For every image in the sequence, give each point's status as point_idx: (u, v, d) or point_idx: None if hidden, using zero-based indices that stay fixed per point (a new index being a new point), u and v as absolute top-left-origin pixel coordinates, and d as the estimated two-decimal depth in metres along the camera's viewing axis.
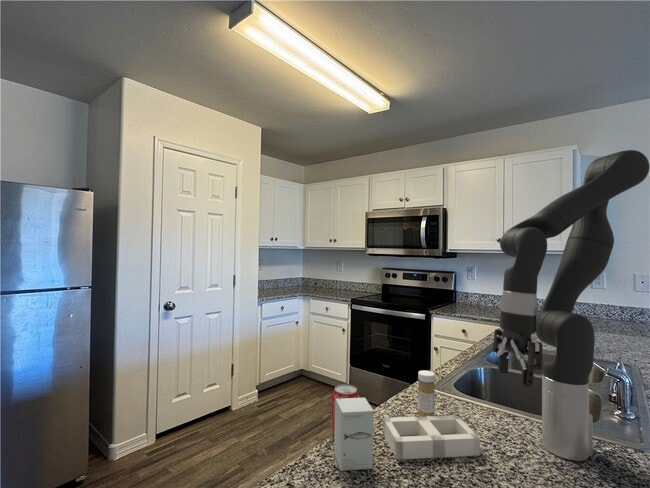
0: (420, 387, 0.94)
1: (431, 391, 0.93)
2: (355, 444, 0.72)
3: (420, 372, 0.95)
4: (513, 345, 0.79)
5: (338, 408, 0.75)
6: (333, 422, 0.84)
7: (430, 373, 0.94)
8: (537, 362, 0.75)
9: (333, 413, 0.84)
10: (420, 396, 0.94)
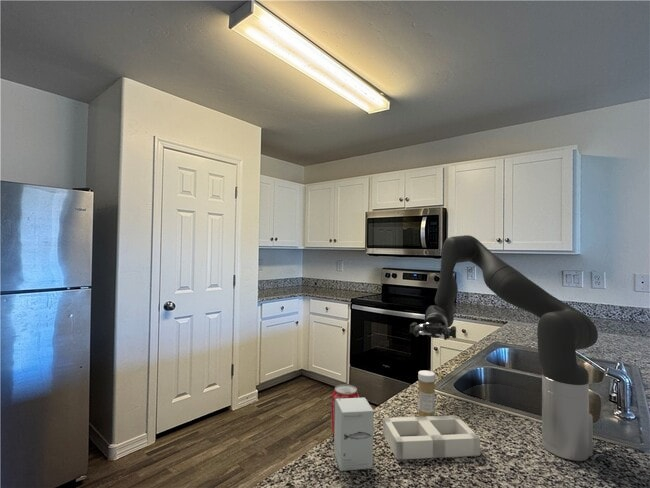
0: (420, 387, 0.94)
1: (432, 391, 0.93)
2: (355, 444, 0.72)
3: (420, 372, 0.95)
4: (427, 334, 1.13)
5: (338, 408, 0.75)
6: (333, 422, 0.84)
7: (430, 373, 0.94)
8: None
9: (333, 413, 0.84)
10: (420, 396, 0.94)
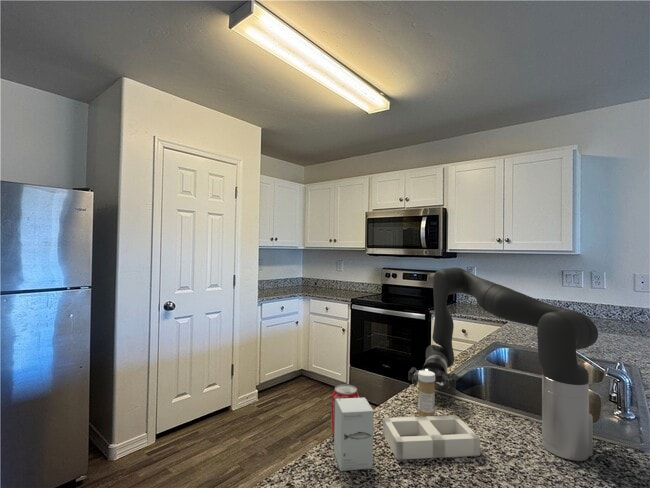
0: (420, 387, 0.94)
1: (431, 391, 0.93)
2: (355, 444, 0.72)
3: (420, 372, 0.95)
4: None
5: (338, 408, 0.75)
6: (333, 422, 0.84)
7: (430, 373, 0.94)
8: None
9: (333, 413, 0.84)
10: (420, 396, 0.94)
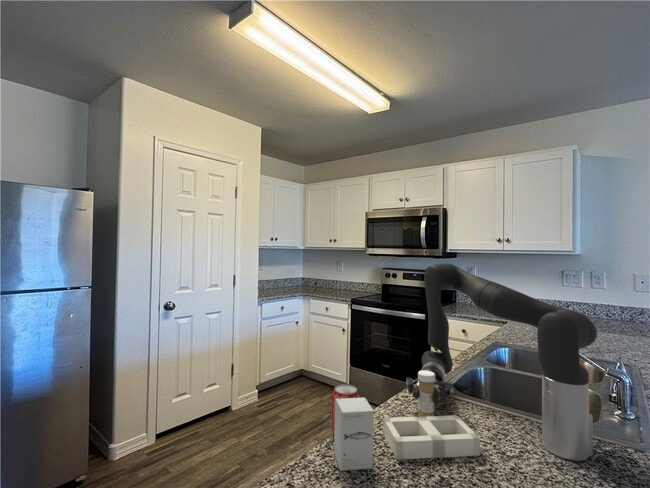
0: (420, 387, 0.94)
1: (431, 391, 0.93)
2: (355, 444, 0.72)
3: (420, 372, 0.95)
4: None
5: (338, 408, 0.75)
6: (333, 422, 0.84)
7: (430, 373, 0.94)
8: None
9: (333, 413, 0.84)
10: (420, 396, 0.94)
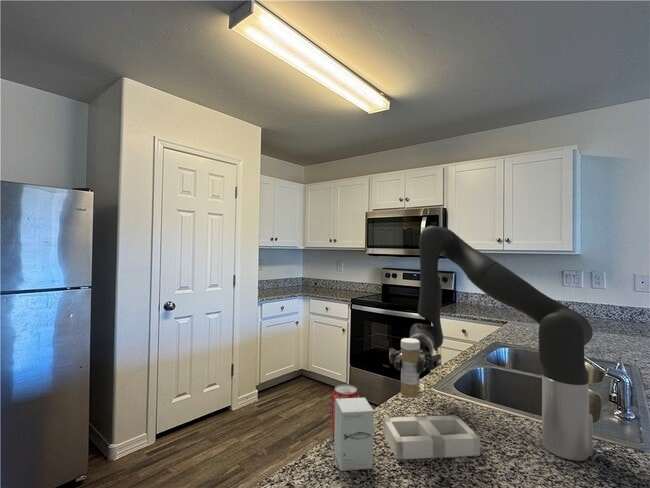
0: (403, 356, 0.82)
1: (416, 360, 0.81)
2: (355, 444, 0.72)
3: (403, 339, 0.83)
4: None
5: (338, 408, 0.75)
6: (333, 422, 0.84)
7: (414, 340, 0.83)
8: None
9: (333, 413, 0.84)
10: (403, 366, 0.82)
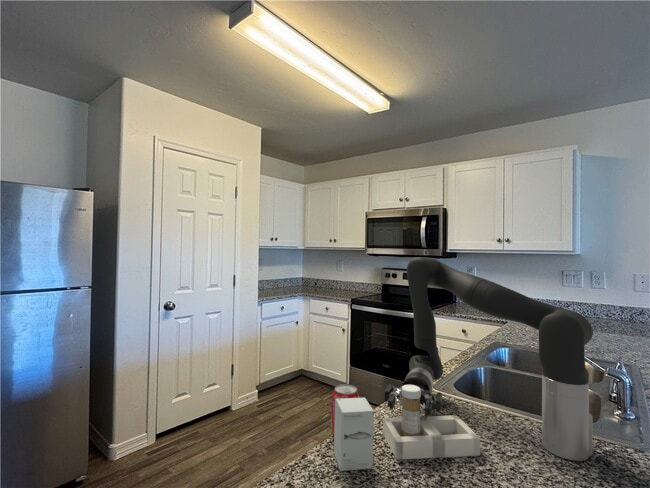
0: (403, 404, 0.82)
1: (416, 409, 0.81)
2: (355, 444, 0.72)
3: (404, 387, 0.83)
4: None
5: (338, 408, 0.75)
6: (333, 422, 0.84)
7: (415, 388, 0.82)
8: None
9: (333, 413, 0.84)
10: (404, 414, 0.82)
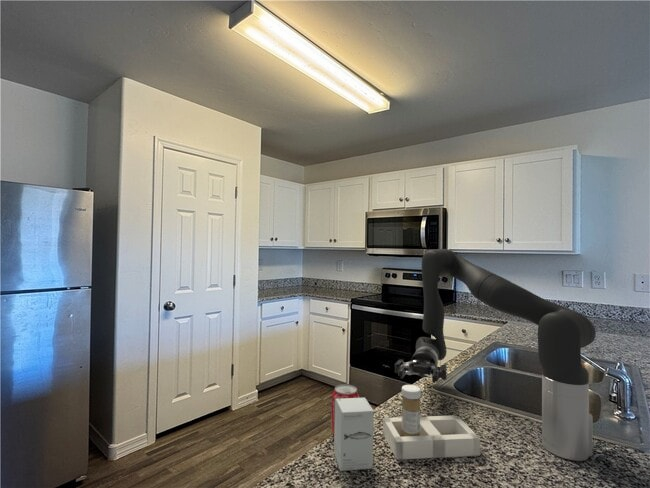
0: (403, 404, 0.82)
1: (416, 409, 0.81)
2: (355, 444, 0.72)
3: (404, 387, 0.83)
4: None
5: (338, 408, 0.75)
6: (333, 422, 0.84)
7: (415, 388, 0.82)
8: None
9: (333, 413, 0.84)
10: (404, 415, 0.82)
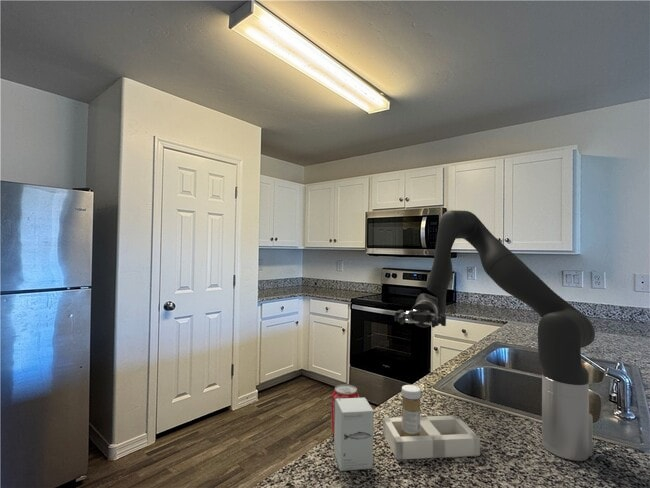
0: (404, 404, 0.82)
1: (416, 409, 0.81)
2: (355, 444, 0.72)
3: (404, 387, 0.83)
4: (415, 322, 1.01)
5: (338, 408, 0.75)
6: (333, 422, 0.84)
7: (415, 388, 0.82)
8: None
9: (333, 413, 0.84)
10: (404, 415, 0.82)
